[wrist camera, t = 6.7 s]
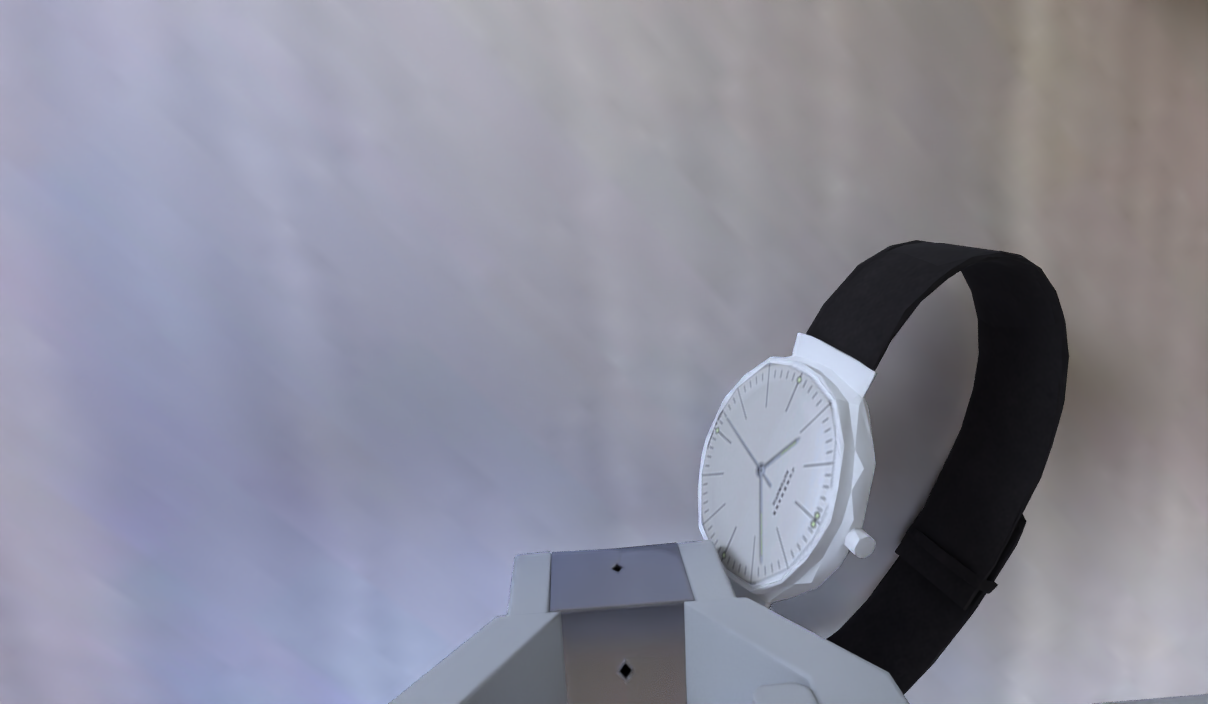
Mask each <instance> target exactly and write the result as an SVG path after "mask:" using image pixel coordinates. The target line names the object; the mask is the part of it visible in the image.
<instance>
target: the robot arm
mask: <svg viewBox="0 0 1208 704" xmlns="http://www.w3.org/2000/svg"><path fill="white" fill-rule="evenodd" d="M388 704H909V702H908V701H907V699H906V698H905V696H904V695H903V693H902V692H901V690H900V689H899V687H898V686H897V684H896V683H895V681H894V680H893V678H892V676H891V675H890V673H889V672H887V671H885V670H883V669H881V668H879V667H877V666H875V665H874V664H872V663H870V662H868V661H866V660H864V659H862V658H860V657H859V656H857V655H855V654H853V653H851V652H849V651H847V650H845V649H843V648H842V647H840V646H838V645H836V644H834V643H832V642H830V641H828V640H826V639H825V638H823V637H821V636H819V635H817V634H815V633H813V632H811V631H809V630H808V629H806V628H804V627H802V626H800V625H798V624H796V623H794V622H793V621H791V620H789V619H787V618H785V617H783V616H781V615H779V614H777V613H776V612H774V611H772V610H770V609H768V608H766V607H764V606H762V605H760V604H759V603H757V602H755V601H753V600H751V599H749V598H747V597H740V598H737V597H736V595H735V593H734V590H733V588H732V586H731V583H730V581H729V578H728V576H727V574H726V571H725V569H724V567H723V564H722V562H721V560H720V557H719V555H718V553H717V550H716V548H715V545H714V543H713V541H711V540H700V541H692V542H684V543H666V544H656V545H646V546H635V547H625V548H615V549H597V550H579V551H560V552H552V554H551V553H550V551H547V552H537V553H527V554H518V555H516V557H515V558H514V565H513V572H512V580H511V587H510V595H509V602H508V610H507V615H505V616H497V617H496V618H494V619H493V620H492V621H491V622H489V623H488V624H487V625H486V626H484V627H483V628H482V629H481V630H479V631H478V632H477V633H476V634H474V635H473V636H472V637H471V638H469V639H468V640H467V641H466V642H464V643H463V644H462V645H461V646H459V647H458V648H457V649H456V650H454V651H453V652H452V653H451V654H449V655H448V656H447V657H446V658H444V659H443V660H442V661H441V662H440V663H438V664H437V665H436V666H435V667H433V668H432V669H431V670H430V671H428V672H427V673H426V674H425V675H423V676H422V677H421V678H420V679H418V680H417V681H416V682H415V683H413V684H412V685H411V686H410V687H408V688H407V689H406V690H405V691H403V692H402V693H401V694H400V695H398V696H397V697H396V698H395V699H393V700H392V701H391V702H390V703H388ZM1094 704H1208V694H1201V695H1189V696H1177V697H1165V698H1153V699H1141V700H1129V701H1117V702H1106V703H1094Z"/></svg>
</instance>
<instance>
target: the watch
mask: <svg viewBox="0 0 1208 704" xmlns="http://www.w3.org/2000/svg"><path fill="white" fill-rule="evenodd" d="M959 271H961V272H962V274H963V276H964V278H965V280H966V282H967V284H968V286H969V288H970V289H971V292H972V296H973V301H974V305H975V309H976V313H977V318H978V349H979V355H978V362H977V368H976V374H975V380H974V386H973V391H972V394H971V397H970V401H969V404H968V407H967V411H966V414H965V417H964V421H963V424H962V427H961V430H960V432H959V434H958V436H957V439H956V441H955V443H954V445H953V447H952V449H951V451H950V453H949V455H948V458H947V460H946V462H945V464H944V466H943V468H942V470H941V472H940V474H939V477H938V479H937V481H936V483H935V485H934V487H933V489H932V491H931V493H930V496H929V498H928V500H927V502H926V504H925V506H924V508H923V509H922V511H921V512H920V514H919V515H918V517H917V518H916V520H915V521H914V523H913V524H912V525H911V527H910V528H909V529H908V531H907V532H906V535H905V537H904V538H903V540H902V541H901V543H900V544H899V546H898V548H897V549H896V551H895V552H896V553H897V554H898V555H899V557H898V558H897V560H896V561H895V563H894V564H893V565H892V567H891V568H890V569H889V571H888V572H887V574H886V575H885V576H884V578H883V579H882V580H881V582H880V583H879V585H878V586H877V587H876V589H875V590H874V591H873V593H872V594H871V596H870V597H869V598H868V600H867V601H866V602H865V603H864V604H863V605H862V606H861V607H860V608H859V609H858V610H857V611H856V612H855V614H854V615H853V616H852V617H851V618H850V619H849V620H848V621H847V622H846V623H845V624H844V625H843V626H842V627H841V628H840V629H839V630H838V631H837V632H836V633H834V634H833V635H832V636H830V637H829V638H827V639H826V640H828V641H830V642H832V643H834V644H836V645H838V646H840V647H842V648H843V649H845V650H847V651H849V652H851V653H853V654H855V655H857V656H859V657H860V658H862V659H864V660H866V661H868V662H870V663H872V664H874V665H875V666H877V667H879V668H881V669H883V670H885V671H887V672H889V673H890V675H891V676H892V678H893V680H894V681H895V683H896V684H897V686H898V687H899V689H900V690H901V692H902V693H903V695H904V694H905V693H906V692H907V691H908V690H909V689H910V688H911V687H912V686H913V685H914V684H915V682H916V681H917V680H918V679H919V678H920V677H921V676H922V675H923V674H924V673H925V672H926V671H927V670H928V669H929V668H930V667H931V666H932V665H933V664H934V662H935V661H936V660H937V659H938V657H939V656H940V655H941V653H942V652H943V651H944V650H945V648H946V647H947V646H948V645H949V643H950V642H951V641H952V640H953V638H954V637H955V636H956V634H957V633H958V632H959V631H960V629H961V628H962V627H963V626H964V624H965V623H966V622H967V620H968V619H969V618H970V617H971V615H972V614H973V613H974V611H975V610H976V608H977V607H978V605H979V604H980V602H981V601H982V599H983V598H984V596H985V595H986V593H990V592H991V591H992V590H994V589H995V588H996V587H997V586H998V585H997V584H996V583H995V582H994V581H995V579H996V577H997V576H998V574H999V573H1000V571H1001V569H1002V568H1003V566H1004V565H1005V563H1006V561H1007V560H1008V558H1009V557H1010V555H1011V554H1012V552H1013V550H1014V549H1015V547H1016V546H1017V543H1018V541H1019V539H1020V537H1021V535H1022V532H1023V529H1024V527H1025V524H1026V520H1025V518H1024V516H1023V512H1024V510H1025V508H1026V506H1027V504H1028V502H1029V500H1030V498H1031V496H1032V494H1033V492H1034V490H1035V488H1036V486H1037V484H1038V483H1039V481H1040V479H1041V476H1042V473H1043V471H1044V468H1045V465H1046V462H1047V459H1048V456H1049V453H1050V451H1051V448H1052V445H1053V441H1054V438H1055V434H1056V431H1057V427H1058V424H1059V420H1060V417H1061V413H1062V409H1063V405H1064V401H1065V391H1066V381H1067V370H1068V360H1069V353H1068V343H1067V334H1066V324H1065V319H1064V315H1063V311H1062V308H1061V305H1060V302H1059V299H1058V295H1057V292H1056V290H1055V289H1054V287H1053V286H1052V284H1051V283H1050V281H1049V280H1048V278H1047V277H1046V275H1045V274H1044V272H1043V271H1042V269H1041V268H1040V267H1038V266H1037V265H1035V264H1034V263H1032V262H1031V261H1029V260H1028V259H1026V258H1025V257H1023V256H1021V255H1018V254H1013V253H1008V252H1003V251H994V250H987V249H980V248H973V247H966V246H959V245H952V244H945V243H932V242H925V241H918V240H915V241H911V242H906V243H901V244H897V245H892V246H889V247H887V248H886V249H884V250H882V251H881V252H879V253H877V254H876V255H874V256H872V257H871V258H869V259H867V260H866V261H864V262H863V263H861V264H859V265H858V266H857V267H856V268H855V269H854V270H853V272H852V273H851V274H850V275H849V276H848V277H847V278H846V280H845V281H844V282H843V283H842V284H841V285H840V286H839V287H838V289H837V290H836V291H835V292H834V293H833V294H832V295H831V296H830V298H829V299H828V300H827V301H826V302H825V303H824V304H823V306H822V308H821V309H820V311H819V313H818V314H817V316H816V318H815V320H814V321H813V323H812V325H811V326H810V328H809V330H808V331H807V333H806V334H803V333H799V332H798V334H797V338H796V341H795V345H794V349H793V352H792V356H789V357H773V356H771V357H770V358H768V359H767V360H765V361H764V362H762V363H761V364H760V365H758V366H757V367H755V368H754V369H752V370H751V371H750V372H748V373H747V374H745V375H744V376H743V377H742V379H741V380H740V381H739V382H738V383H737V384H736V385H735V387H734V388H733V389H732V390H731V391H730V392H729V393H728V395H727V396H726V397H725V398H724V400H723V402H722V404H721V407H720V409H719V411H718V413H717V415H716V417H715V419H714V421H713V424H712V426H711V428H710V430H709V432H708V434H707V437H706V441H705V444H704V448H703V451H702V455H701V464H700V473H699V483H698V517H699V529H700V531H701V534H702V536H703V538H704V540H711V541H713V543H714V545H715V548H716V550H717V553H718V555H719V557H720V560H721V562H722V564H723V567H724V569H725V571H726V574H727V576H728V578H729V581H730V583H731V586H732V588H733V590H734V593H735V595H736V597H737V598H740V597H747V598H749V599H751V600H753V601H755V602H757V603H759V604H760V605H762V606H764V607H766V608H768V609H769V608H770V605H771V603H773V602H777V601H781V600H785V599H789V598H792V597H795V596H798V595H800V594H803V593H805V592H808V591H811V590H813V589H816V588H818V587H819V586H820V585H821V584H823V583H824V582H825V581H826V580H827V579H828V578H829V577H830V576H831V575H832V574H833V573H834V572H835V571H836V570H837V569H838V568H839V567H840V566H841V564H842V563H843V561H844V559H845V557H846V555H847V554H848V552H849V550H850V551H851V552H852V553H853V554H854V555H855V556H857V557H859V558H861V559H863V558H866V557H868V556H869V555H871V554H872V553H873V551H874V549H875V543H876V541H875V540H874V539H873V538H872V537H870V536H869V535H868V534H867V533H866V532H865V531H864V530H863V529H862V527H863V523H864V518H865V513H866V509H867V504H868V499H869V494H870V490H871V485H872V480H873V475H874V470H875V466H876V461H875V453H874V445H873V437H872V429H871V421H870V413H869V407H868V405H867V402H866V400H865V397H864V396H865V394H866V392H867V390H868V389H869V387H870V385H871V383H872V382H873V380H874V378H875V376H876V375H877V373H876V372H875V370H876V368H877V366H878V364H879V362H880V361H881V359H882V357H883V355H884V353H885V351H886V349H887V348H888V346H889V344H890V342H891V340H892V339H893V338H894V336H895V335H896V334H897V332H898V331H899V330H900V328H901V327H902V326H903V324H904V323H905V322H906V321H907V319H908V318H909V317H910V315H911V314H912V313H913V311H914V310H915V309H916V307H917V306H918V305H919V303H920V302H921V301H922V300H923V299H925V298H926V297H927V296H928V295H929V294H931V293H932V292H933V291H934V290H935V289H936V288H938V287H939V286H940V285H941V284H942V283H943V282H945V281H946V280H947V279H948V278H950V277H951V276H953V275H954V274H956V273H958V272H959Z"/></svg>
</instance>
